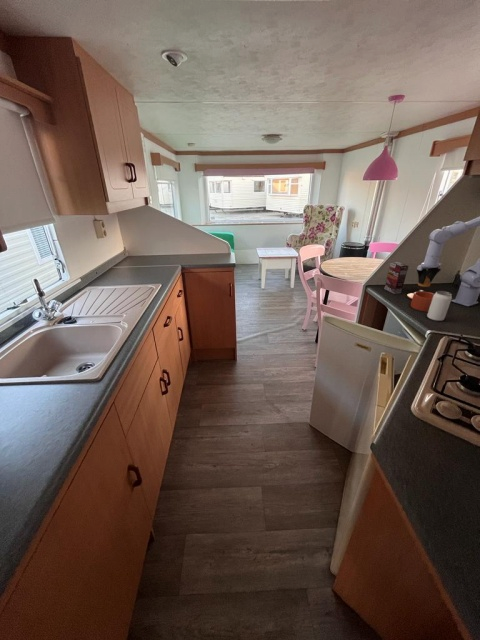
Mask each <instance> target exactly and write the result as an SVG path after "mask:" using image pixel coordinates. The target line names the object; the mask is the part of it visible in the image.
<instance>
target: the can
mask: <svg viewBox="0 0 480 640" xmlns="http://www.w3.org/2000/svg"><path fill="white" fill-rule="evenodd" d="M433 294H434V296H433V299H432V302H431V305H430V308H429V311H428V312H427V314H426V317H427V318H428V319H429V320H432V321H436V322H442V321H444V320H445V318H446V316H447V313H448V311H449V308H450V304H451V302H452V301H451V300H453V297H452V293H451V292H449V291H445V290H437V291H435V293H433Z"/></svg>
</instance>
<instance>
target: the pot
mask: <svg viewBox="0 0 480 640" xmlns="http://www.w3.org/2000/svg"><path fill="white" fill-rule="evenodd" d="M418 291H419V290H418ZM418 291H414V292H413V293H414V295H413V298H412V299H411V302H410V307H411V308H412V309H414V310H417V311H420V312H424V313H425V312H426V313H428V311H429V308H430V305H431V302H432V299H433V296H434V294H435V293H434V292H429V291H424V292H422V291H419V292H418Z"/></svg>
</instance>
